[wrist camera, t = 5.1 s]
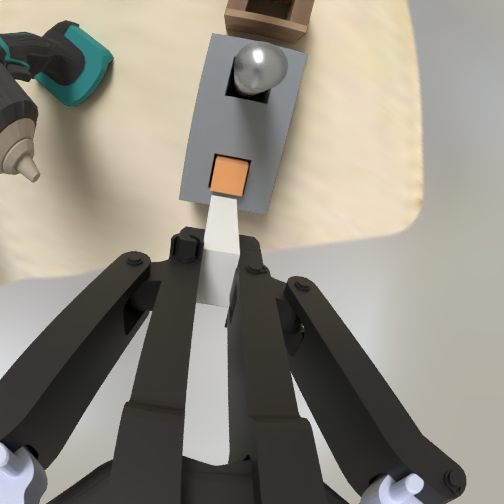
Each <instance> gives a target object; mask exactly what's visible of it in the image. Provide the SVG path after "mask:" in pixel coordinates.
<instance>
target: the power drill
mask: <svg viewBox="0 0 504 504" xmlns="http://www.w3.org/2000/svg"><path fill="white" fill-rule="evenodd" d="M112 59H113V56H112V54H111V53H110V51H109V50H107V49H106V48H105V47H104V46H102V45H101V44H100V43H98V42H97V41H96V40H95V39H93V38H92V37H91V36H89V35H88V34H87V33H85V32H84V31H83V30H82V29H80V28H79V24H76V23H74V22H70V21H66V20H65V21H62V22H60V23H57V24H56V25H55V26H54V27H52V28H51V29H50V30H49V31H47V32H46V33H45V34H44V35H43V37H40V36H37V35H35V34H31V33H27V32H19V33H8V34H0V174H2V173H6V174H12V175H17V174H18V173H21V174H23V175H24V176H25V177H26V178H28V179H29V180H30V181H32V182H35V181H37V180H38V178H39V177H40V173H39V171H38V169H37V167H36V165H35V163H34V161H33V160H32V158H33V156H34V143H33V138H34V132H35V128H36V124H37V123H36V121H37V118H38V109H37V106H36V104H35V103H34V102H33V101H32V100H31V99H30V97H29V96H28V95H27V94H26V93H25V92H24V90H23V89H22V88H21V87H20V86H19V84H18V83H17V82H16V81H15V79H17V80H22V81H25V82H29V81H30V80H31V78H32V79H36V80H38V81H39V82H40V83H41V84H42V85H43V86H44V87H45V88H46V89H47V90H49V91H50V92H51V93H52V94H53V95H54V96H55V97H56V98H57V99H58V100H59V101H61V102H62V103H63V104H65V105H69V106H72V105H73V106H77V105H78V104H80V103H81V102H83V101H84V100H85V99H86V98H88V97H89V96H90V95H91V94H92V92H93V91H94V90H95V89H96V88H97V86H98V85H99V83H100V82H101V80H102V78H103V76H104V74H105V73H106V71H107V67H108V63H110V62H111V61H112Z"/></svg>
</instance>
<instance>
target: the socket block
mask: <svg viewBox="0 0 504 504" xmlns="http://www.w3.org/2000/svg"><path fill="white" fill-rule="evenodd" d="M252 42H258V41H255V40H250V39H244V38H239V37H233V36H227V35H221V34H214V33H212V36H211V40H210V44H209V48H208V52H207V56H206V60H205V64H204V68H203V72H202V76H201V81H200V85H199V90H198V94H197V99H196V103H195V108H194V113H193V118H192V123H191V129H190V134H189V139H188V145H187V151H186V157H185V163H184V169H183V175H182V182H181V188H180V195H179V200H183V201H189V202H195V203H201V204H207V205H210V201H211V196H212V195H214V196H220V197H225V198H231V199H236V200H237V210H240V211H245V212H251V213H256V214H261V215H266V213H267V210H268V206H269V202H270V198H271V194H272V191H273V187H274V183H275V179H276V175H277V171H278V168H279V164H280V160H281V156H282V152H283V148H284V145H285V141H286V137H287V133H288V129H289V125H290V121H291V118H292V114H293V110H294V106H295V102H296V98H297V94H298V90H299V86H300V83H301V79H302V75H303V71H304V67H305V63H306V59H307V55H308V54H306V53H303V52H299V51H296V50H292V49H288V48H285V47H281V46H277V45H276V46H277V47H279V48H280V49H281V50H282V51H283V52H284V54H285V56H286V58H287V61H288V71H287V74H286V76H285V78H284V79H283V81H282V82H281V83H280V84H278V85H277V86H275V87H273V88H270V89H268V90H265V91H264V94H263V98H262V102H261V103H260V102H255V101H251V100H246V99H241V98H236V97H231V96H227V95H228V90H229V86H230V82H231V78H232V74H233V70H234V61H235V58H236V55H237V53H238V52H239V51H240V50H241V49H242V48H243V47H244V46H246V45H247V44H249V43H252ZM216 154H221V155H227V156H232V157H237V158H242V159H247V161H248V171H247V175H246V179H245V184H244V188H243V192H242V196H237V195H231V194H226V193H221V192H215V191H210V188H211V183H212V178H213V173H214V172H213V169H214V164H215V159H216Z"/></svg>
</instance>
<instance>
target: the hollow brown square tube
mask: <svg viewBox="0 0 504 504" xmlns="http://www.w3.org/2000/svg"><path fill="white" fill-rule="evenodd" d="M273 1H277V2H281V3H285V4H289V5H288V9H287V12H286V16H285V20H283V19H279V18H275V17H271V16H266V15H262V14H257V13H252V12H247V10H248V7H249V4H250V0H229V1H228V4H227V7H226V11H225V14H224V16H225V24H226V29H230V30H236V31H242V32H247V33H252V34H257V35H262V36H266V37H271V38H275V39H279V40H283V41H287V42H290V43H295V42H296V41H298V40H299V39H300V38H301V37H302V36H303V35H304V34H305V33H306V31H307V27H308V23H309V19H310V15H311V11H312V7H313V3H314V0H273Z"/></svg>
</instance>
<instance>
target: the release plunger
mask: <svg viewBox="0 0 504 504" xmlns="http://www.w3.org/2000/svg"><path fill="white" fill-rule="evenodd" d="M247 171H248V161H247V159H242V158H237V157H232V156H227V155H221V154H218V155H217V158H216V162H215V167H214V173H213V178H212V183H211V188H210V191H215V192H221V193H226V194H231V195H237V196H242V192H243V188H244V184H245V179H246V175H247Z"/></svg>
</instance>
